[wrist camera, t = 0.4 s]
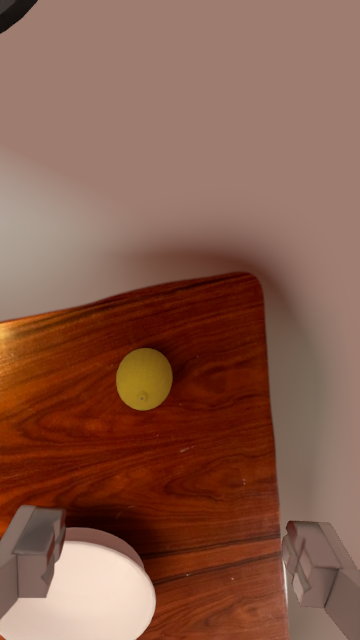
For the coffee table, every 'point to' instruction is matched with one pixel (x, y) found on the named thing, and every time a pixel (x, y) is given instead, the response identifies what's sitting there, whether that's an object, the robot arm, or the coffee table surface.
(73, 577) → the bowl
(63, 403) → the coffee table surface
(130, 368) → the lemon
